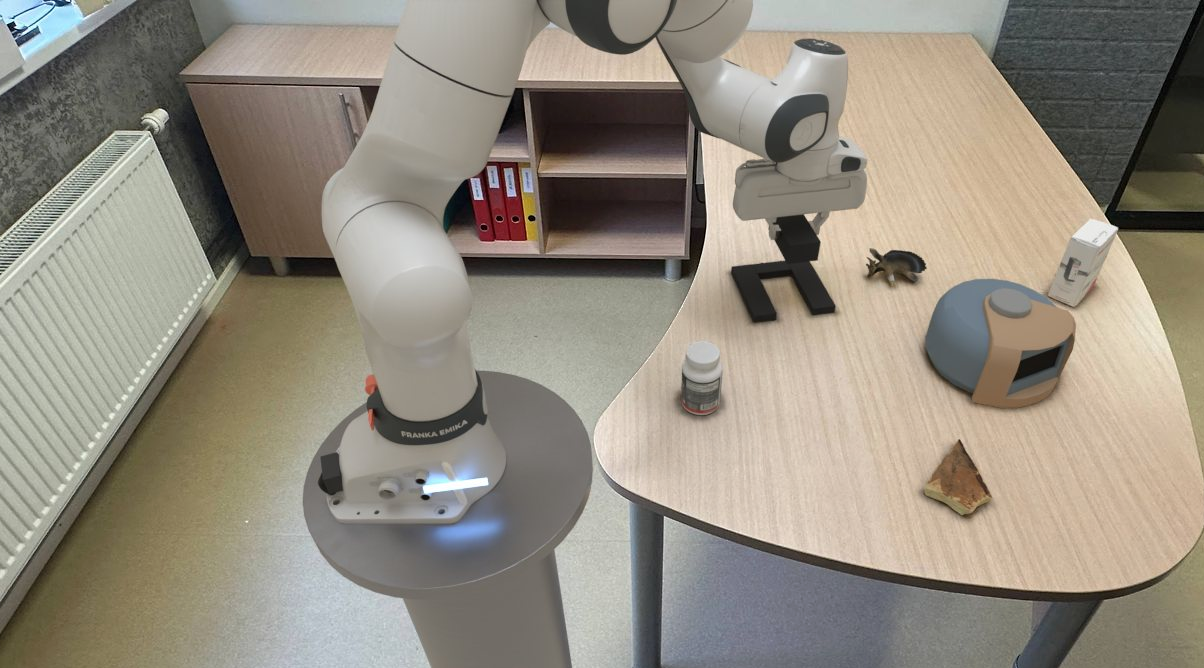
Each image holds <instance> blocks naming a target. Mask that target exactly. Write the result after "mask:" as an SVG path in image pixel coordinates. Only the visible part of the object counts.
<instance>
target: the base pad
mask: <svg viewBox="0 0 1204 668" xmlns="http://www.w3.org/2000/svg"><path fill="white" fill-rule="evenodd" d="M730 268H731V269H730V275H731V277H732V279H733V281H734V283H735V286H736V288H737V290H738V292H739V294H740V297H741V299H742V301H743V303H744V305H745V307H746V310H747V312H748V314H749V316H750V319H751V321H752V323H754V324H756V323H762V322H771V321H776V320H777V316H778V313H777V310H776V308H775V305H774V304H773V302H772V300H771V298H770V296H769V294H768V292H767V290H766V287H765V286H764V283H763V281H762V280H770V279H778V278H786V277H791V280H792V281H793V283H794V285H795V287H796V289H797V290H798V292H799V294H800V296H801V298H802V300H803V301H804V303H805V305H806V307H807V308H808V310H809V312H810V314H811V316H819V315H827V314H834V313H835V312H836V306H837V305H836V304H835V302H834V300H833V298H832V297H831V295H830V293H829V292H828V290H827V288H826V287H825V285H824V283H823V282H822V280H821V278H820V277H819V274H818V273H817V271H816V269H815V268H814V266H813V265H812V262H811V261H809V262H801V263H792V264H787V263H786V261H785V260H777V261H768V262H759V263H751V264H750V263H749V264H742V265H733V266H731V267H730Z"/></svg>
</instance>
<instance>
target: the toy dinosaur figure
mask: <svg viewBox="0 0 1204 668" xmlns="http://www.w3.org/2000/svg"><path fill="white" fill-rule="evenodd" d="M869 253H870V254H871V255H872V257H873V258H874V259H875V260H873V259H871V258H870V257H868V256H867V257H866V259H867V260H868V262H869V264H868V263H865V266H866V267H867V269H868V273H867V276H866V278H869V279H870V278H872V277H874V276H875V274H878V273H881V272H883V273H884V274H883V275H885V277H886V278H887V279H888V281H889V284H890V288H893V286H894V284H895V277H894V273H898V274H901V275H903V276H905V277H906V278H908V279H909V280H911V281H912V282H917V281H918V280H919V278H918V276H917V275H916V274H921V273H923V272H925V270H927V269H928V267H927V263H926V262H925V260H924V259H923V257H921V256H920V255H918V254H917V253H915V252H913V251H909V250H901V249H899V250H898V249H890V250H889V251H887V252H886V253H884V255H883V254H880V253H879V251H878V250H877V249H875V248H872V247H870V248H869ZM877 261H878V262H877Z"/></svg>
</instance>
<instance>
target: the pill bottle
mask: <svg viewBox="0 0 1204 668" xmlns="http://www.w3.org/2000/svg"><path fill="white" fill-rule="evenodd" d="M720 359H721V351H720V348H719V347H718V346H717V345H716V344H715V343H713V342H710V341H707V340H698V341H694V342H692V343H690V344H689V345H688V346H687V348H686V352H685V359H684V360H683V362H682V366H681V383H680V385H681V386H680V387H681V388H680V401H681V406H682V407H683V408H684V409H685V410H686V411H687V412H689V413H691V414H693V415H698V416H706V415H710V414H712V413H714V412H715V411H716V410H717V409H718V408H719V406H720V405H721V404H720V403H721V397H722V396H721V395H722V382H723V369H724V367H723V363H722V361H721V360H720Z"/></svg>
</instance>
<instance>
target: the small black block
mask: <svg viewBox="0 0 1204 668" xmlns="http://www.w3.org/2000/svg"><path fill="white" fill-rule="evenodd" d="M805 215H806V214H803V215H794V216H784V217H777V219H776V222H774V223H773V222H772V223H773V225H779V228H780V229H781V235H780V236H781V237H780V239H777V240H773V241H774V243H775V244H776V246H777V248H778V251H779V252H780V254H781V256H782V257H783V259H784V261H786V263H787V264H792V263H801V262H809V261H810V262H816V261H818V260H819V254H820V248H821V243H822V242H821V239H820V238H819V236H818V235H816V233H815V232H814V230H813V228H812V227H811V225H810V224H809V222H808V221H809V220H808V219H807V217H806V216H805ZM768 231H769V227H768Z"/></svg>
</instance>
